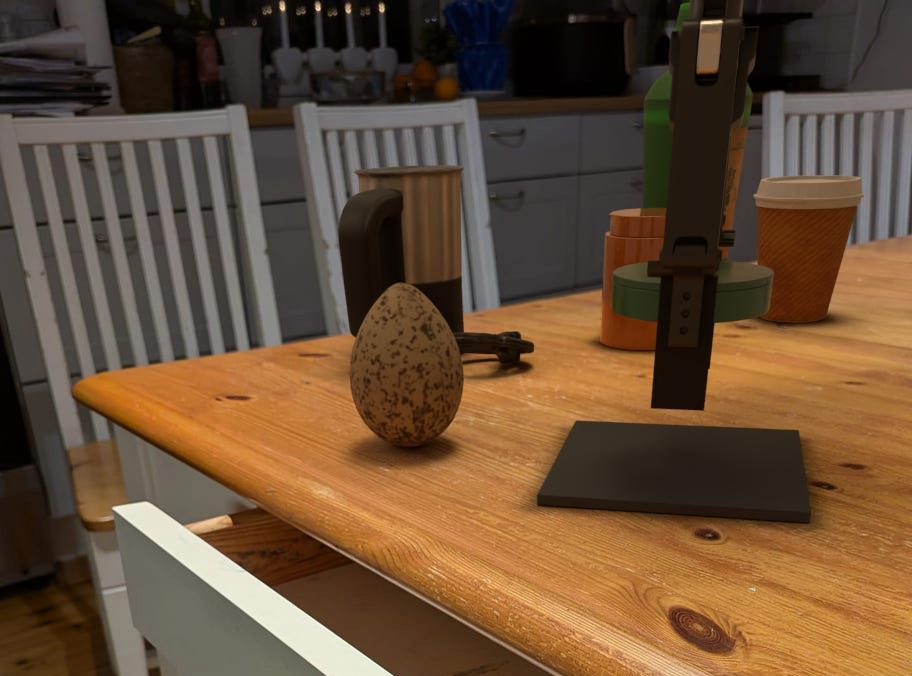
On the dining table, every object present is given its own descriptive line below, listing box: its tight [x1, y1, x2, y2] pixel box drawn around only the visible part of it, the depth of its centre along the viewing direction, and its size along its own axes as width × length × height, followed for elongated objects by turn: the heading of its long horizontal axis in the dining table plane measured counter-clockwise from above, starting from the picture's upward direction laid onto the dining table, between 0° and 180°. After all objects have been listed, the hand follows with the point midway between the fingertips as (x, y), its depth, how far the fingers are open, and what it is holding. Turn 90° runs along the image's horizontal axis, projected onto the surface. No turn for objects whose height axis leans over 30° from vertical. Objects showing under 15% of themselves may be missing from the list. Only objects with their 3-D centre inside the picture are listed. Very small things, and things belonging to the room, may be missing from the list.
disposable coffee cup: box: [753, 174, 866, 324], centre depth 89 cm, size 10×10×12 cm
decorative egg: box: [349, 282, 465, 448], centre depth 60 cm, size 7×7×10 cm
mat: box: [536, 419, 812, 524], centre depth 56 cm, size 14×14×1 cm
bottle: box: [642, 0, 754, 261], centre depth 98 cm, size 11×11×28 cm
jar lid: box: [611, 260, 774, 324], centre depth 51 cm, size 8×8×2 cm
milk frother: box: [337, 164, 535, 365], centre depth 80 cm, size 14×16×15 cm
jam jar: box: [599, 207, 666, 351], centre depth 83 cm, size 8×8×11 cm
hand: (682, 385), depth 54 cm, fingers closed on jar lid, 8 cm apart
